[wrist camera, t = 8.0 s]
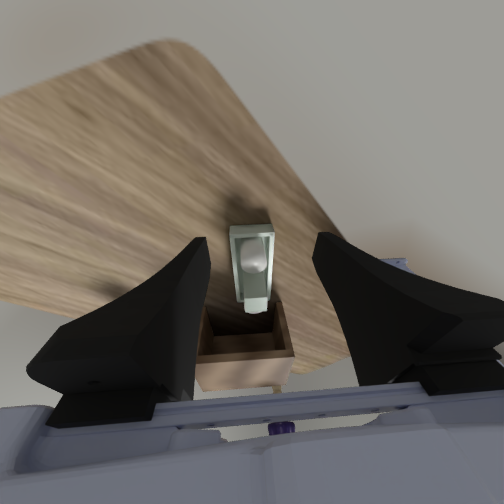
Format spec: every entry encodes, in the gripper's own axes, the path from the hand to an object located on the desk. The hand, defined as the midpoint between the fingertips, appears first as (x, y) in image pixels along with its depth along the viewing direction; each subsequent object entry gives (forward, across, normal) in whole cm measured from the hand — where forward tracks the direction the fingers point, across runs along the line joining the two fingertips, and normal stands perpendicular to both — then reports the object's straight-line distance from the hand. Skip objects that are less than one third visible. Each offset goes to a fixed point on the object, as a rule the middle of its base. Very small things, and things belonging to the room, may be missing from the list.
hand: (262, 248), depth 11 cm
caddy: (+10, 0, +10) cm, 14 cm away
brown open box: (+10, +2, +24) cm, 27 cm away
